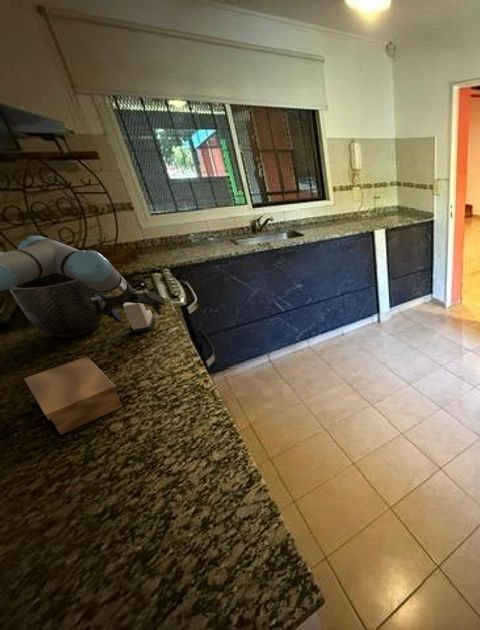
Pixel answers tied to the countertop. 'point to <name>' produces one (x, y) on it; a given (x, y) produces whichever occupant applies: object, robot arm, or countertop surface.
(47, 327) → the planter
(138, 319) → the black-striped white block
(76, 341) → the countertop surface
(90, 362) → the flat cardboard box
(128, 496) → the countertop surface
